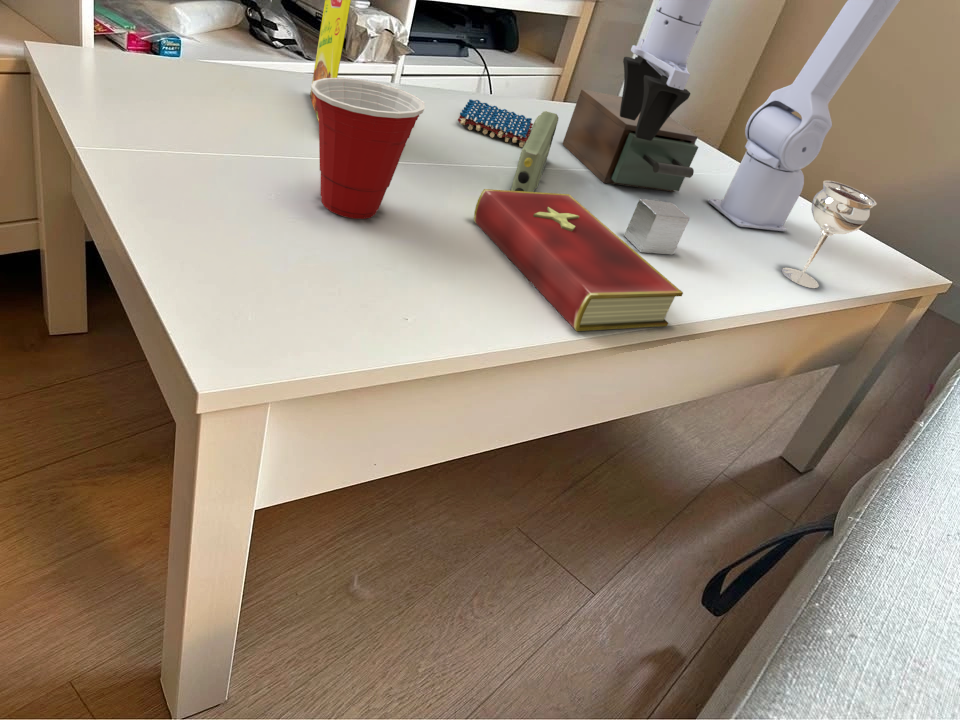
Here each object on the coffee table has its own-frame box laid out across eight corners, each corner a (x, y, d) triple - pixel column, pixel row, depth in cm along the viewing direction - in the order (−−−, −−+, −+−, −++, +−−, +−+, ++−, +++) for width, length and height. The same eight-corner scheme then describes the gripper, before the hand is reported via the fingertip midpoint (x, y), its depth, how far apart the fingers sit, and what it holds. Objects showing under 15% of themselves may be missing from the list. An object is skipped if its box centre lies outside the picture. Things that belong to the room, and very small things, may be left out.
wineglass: (766, 268, 98) (814, 182, 91) (787, 261, 102) (834, 178, 96) (813, 296, 95) (866, 208, 88) (833, 286, 99) (884, 203, 93)
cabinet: (673, 192, 113) (698, 136, 109) (603, 182, 108) (626, 124, 103) (628, 154, 123) (649, 101, 118) (562, 143, 117) (581, 88, 113)
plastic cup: (340, 174, 84) (360, 65, 78) (418, 216, 81) (446, 106, 75) (270, 193, 76) (287, 73, 69) (355, 241, 73) (380, 119, 66)
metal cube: (656, 238, 96) (672, 202, 93) (673, 255, 93) (690, 218, 90) (623, 235, 93) (639, 198, 91) (640, 252, 90) (656, 214, 88)
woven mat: (525, 150, 110) (529, 136, 109) (455, 126, 110) (458, 112, 108) (532, 130, 119) (536, 117, 118) (467, 108, 118) (470, 95, 117)
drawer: (695, 204, 108) (716, 159, 104) (630, 196, 103) (650, 149, 99) (636, 155, 120) (653, 113, 116) (575, 146, 115) (591, 102, 111)
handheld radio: (549, 161, 109) (523, 223, 87) (526, 154, 109) (496, 215, 88) (562, 115, 105) (539, 168, 84) (539, 108, 105) (510, 160, 84)
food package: (306, 94, 103) (331, -68, 92) (314, 96, 103) (341, -66, 92) (321, 139, 91) (352, -41, 81) (330, 140, 92) (363, -39, 81)
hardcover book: (573, 331, 70) (589, 292, 68) (471, 221, 84) (481, 186, 82) (666, 325, 76) (684, 290, 74) (557, 224, 90) (569, 191, 88)
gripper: (631, -5, 95) (593, 102, 102) (667, 22, 83) (620, 140, 91) (682, 11, 97) (640, 115, 104) (723, 39, 85) (673, 154, 92)
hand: (634, 127), depth 98 cm, fingers open, 7 cm apart
